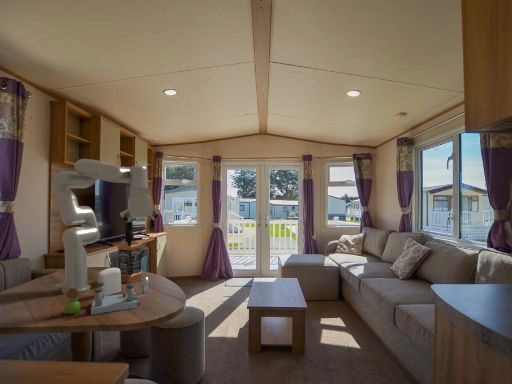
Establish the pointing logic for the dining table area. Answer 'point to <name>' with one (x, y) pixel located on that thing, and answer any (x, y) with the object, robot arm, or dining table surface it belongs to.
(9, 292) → the dining table surface
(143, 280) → the hinged leg
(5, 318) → the dining table surface
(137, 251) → the whiskey bottle
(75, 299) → the snail figurine
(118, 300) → the stool frame
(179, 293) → the dining table surface
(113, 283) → the photo printer
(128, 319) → the dining table surface
